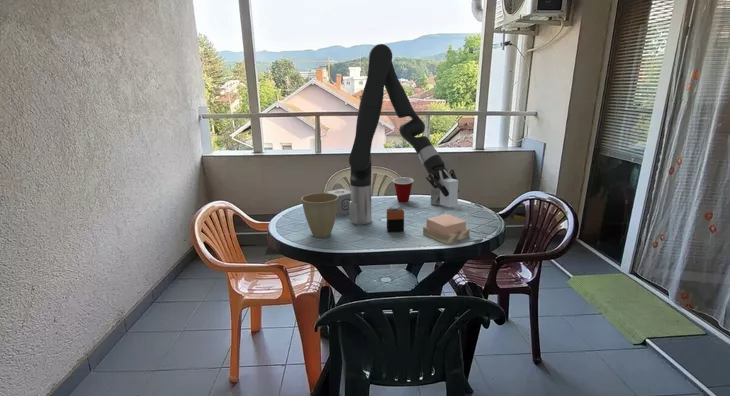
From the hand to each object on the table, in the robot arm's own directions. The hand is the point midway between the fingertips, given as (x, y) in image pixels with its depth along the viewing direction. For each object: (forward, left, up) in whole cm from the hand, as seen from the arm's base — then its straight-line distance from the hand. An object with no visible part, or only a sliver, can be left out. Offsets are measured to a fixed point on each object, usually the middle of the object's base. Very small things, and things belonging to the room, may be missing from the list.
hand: (452, 194), depth 145 cm
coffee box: (+30, +37, -18) cm, 51 cm away
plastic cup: (+17, +49, -18) cm, 55 cm away
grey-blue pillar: (0, +2, -5) cm, 5 cm away
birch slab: (0, +2, -18) cm, 18 cm away
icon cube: (-18, +55, -18) cm, 60 cm away
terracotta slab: (0, +2, -15) cm, 15 cm away
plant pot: (-40, +34, -18) cm, 55 cm away
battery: (-13, +19, -18) cm, 29 cm away
